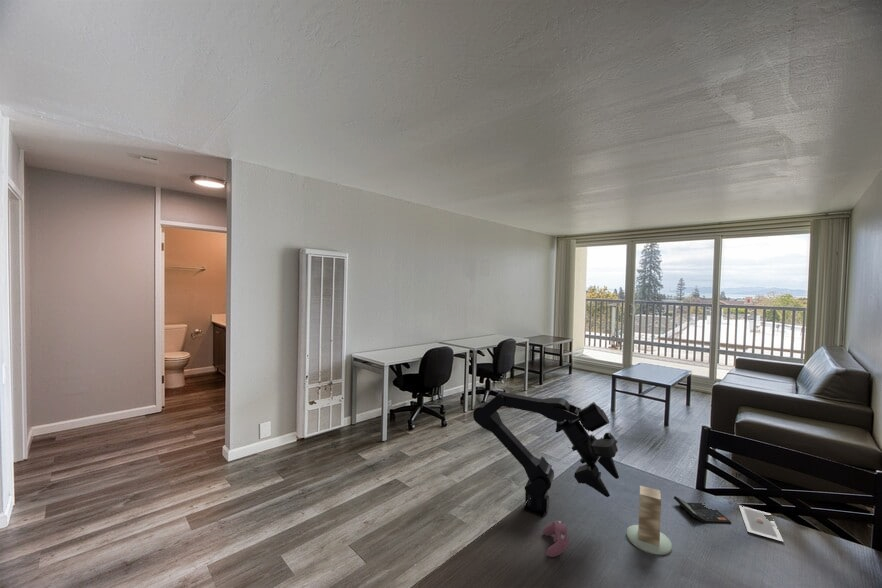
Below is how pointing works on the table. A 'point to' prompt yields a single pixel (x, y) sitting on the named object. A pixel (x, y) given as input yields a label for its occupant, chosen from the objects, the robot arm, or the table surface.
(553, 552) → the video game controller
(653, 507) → the maple block
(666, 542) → the sage mat
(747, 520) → the touchpad
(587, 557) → the table surface
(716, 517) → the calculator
